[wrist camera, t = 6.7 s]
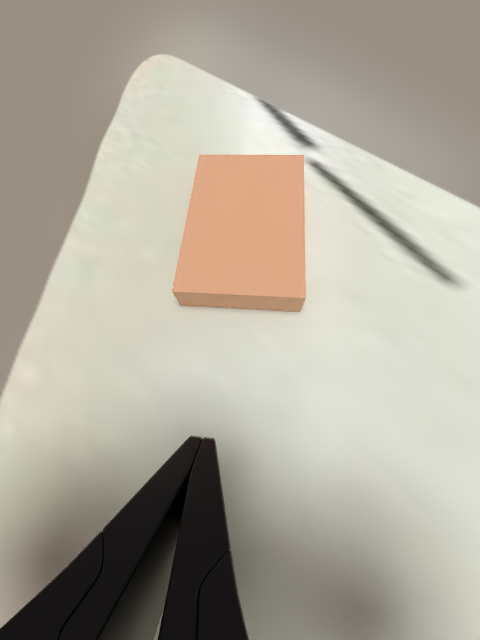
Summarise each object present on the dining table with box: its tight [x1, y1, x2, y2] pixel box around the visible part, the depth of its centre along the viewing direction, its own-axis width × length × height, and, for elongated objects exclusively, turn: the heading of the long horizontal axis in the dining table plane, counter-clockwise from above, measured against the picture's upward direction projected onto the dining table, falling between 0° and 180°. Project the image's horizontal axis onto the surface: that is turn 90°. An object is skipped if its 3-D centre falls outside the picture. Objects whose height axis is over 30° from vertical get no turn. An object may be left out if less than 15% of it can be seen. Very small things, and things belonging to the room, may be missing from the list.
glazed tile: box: [172, 155, 306, 312], centre depth 19 cm, size 2×8×12 cm
